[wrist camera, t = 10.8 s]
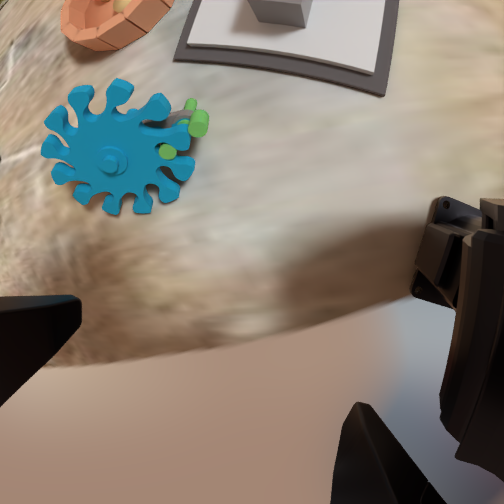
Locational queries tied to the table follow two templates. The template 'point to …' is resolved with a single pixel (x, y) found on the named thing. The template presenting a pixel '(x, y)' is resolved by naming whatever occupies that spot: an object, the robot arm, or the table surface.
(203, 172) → the table surface
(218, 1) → the lid
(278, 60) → the mat
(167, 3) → the dish
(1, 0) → the blowtorch
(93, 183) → the gear
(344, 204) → the table surface
